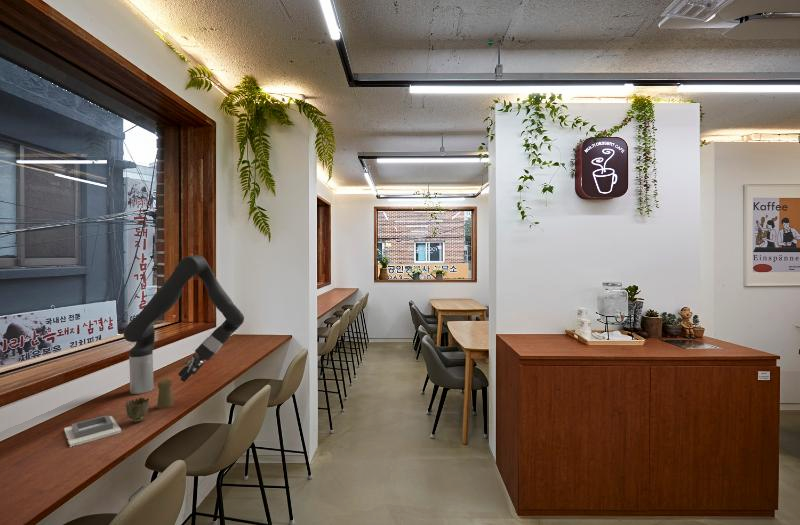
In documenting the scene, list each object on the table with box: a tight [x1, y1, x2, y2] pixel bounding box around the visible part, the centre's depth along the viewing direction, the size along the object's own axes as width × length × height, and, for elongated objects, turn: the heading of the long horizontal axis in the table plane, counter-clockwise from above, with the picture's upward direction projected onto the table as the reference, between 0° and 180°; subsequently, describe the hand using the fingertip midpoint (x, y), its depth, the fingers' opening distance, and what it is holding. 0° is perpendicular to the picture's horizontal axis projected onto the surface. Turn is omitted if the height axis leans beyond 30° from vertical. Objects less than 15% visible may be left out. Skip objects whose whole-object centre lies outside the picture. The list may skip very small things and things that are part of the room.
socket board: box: [63, 414, 122, 448], centre depth 137 cm, size 18×14×3 cm
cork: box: [156, 379, 174, 410], centre depth 160 cm, size 6×6×11 cm
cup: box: [125, 397, 150, 424], centre depth 145 cm, size 8×7×8 cm
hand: (180, 378), depth 163 cm, fingers open, 8 cm apart
